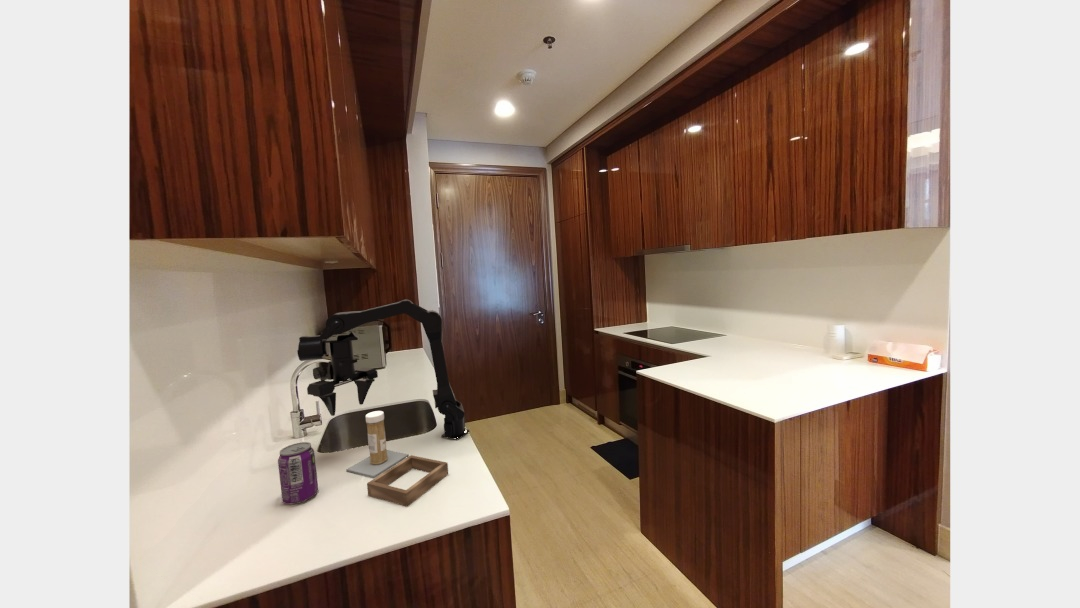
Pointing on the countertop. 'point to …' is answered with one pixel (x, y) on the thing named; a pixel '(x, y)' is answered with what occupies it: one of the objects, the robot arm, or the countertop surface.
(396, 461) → the mat
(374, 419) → the sprinkles bottle
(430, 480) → the wooden frame
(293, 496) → the beverage can
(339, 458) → the countertop surface
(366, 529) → the countertop surface
